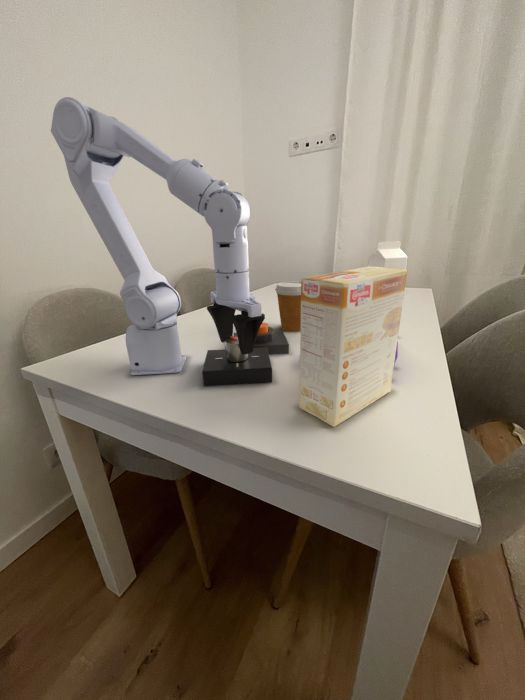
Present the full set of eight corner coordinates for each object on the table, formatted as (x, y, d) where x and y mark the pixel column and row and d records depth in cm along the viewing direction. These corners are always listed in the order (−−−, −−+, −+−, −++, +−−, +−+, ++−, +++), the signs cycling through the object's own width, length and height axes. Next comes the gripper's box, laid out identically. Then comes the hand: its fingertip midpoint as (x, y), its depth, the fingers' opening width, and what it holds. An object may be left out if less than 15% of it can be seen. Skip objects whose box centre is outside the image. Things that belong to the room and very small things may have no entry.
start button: (250, 335, 67) (250, 327, 66) (250, 329, 70) (249, 322, 70) (268, 334, 67) (268, 327, 66) (267, 329, 71) (267, 321, 70)
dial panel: (203, 386, 53) (202, 370, 52) (209, 363, 62) (207, 349, 61) (272, 382, 53) (272, 366, 52) (267, 360, 63) (266, 346, 62)
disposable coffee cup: (304, 335, 77) (305, 288, 72) (270, 331, 81) (269, 286, 76) (314, 325, 85) (316, 281, 80) (283, 321, 89) (283, 280, 84)
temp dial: (252, 358, 56) (251, 339, 55) (233, 364, 54) (231, 344, 53) (241, 352, 59) (240, 333, 58) (222, 357, 57) (221, 338, 56)
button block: (233, 356, 65) (232, 339, 64) (234, 341, 74) (233, 325, 73) (288, 353, 66) (288, 336, 64) (282, 338, 75) (282, 323, 74)
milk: (396, 337, 74) (411, 241, 65) (374, 340, 72) (387, 242, 64) (380, 330, 79) (392, 240, 71) (360, 332, 78) (370, 241, 69)
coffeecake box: (355, 377, 55) (365, 265, 47) (392, 391, 49) (410, 269, 42) (296, 407, 46) (298, 276, 39) (334, 429, 41) (345, 282, 33)
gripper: (276, 273, 47) (277, 353, 52) (231, 265, 58) (235, 332, 63) (237, 277, 44) (242, 363, 49) (197, 269, 55) (204, 339, 60)
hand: (236, 346), depth 56 cm, fingers open, 7 cm apart
